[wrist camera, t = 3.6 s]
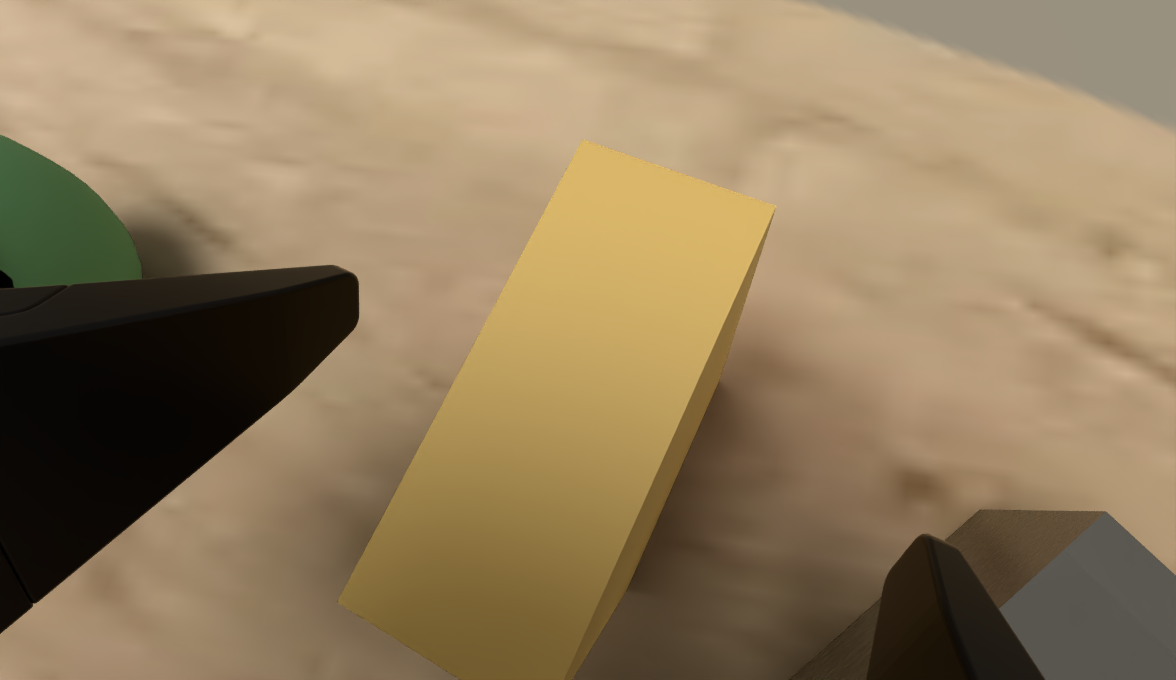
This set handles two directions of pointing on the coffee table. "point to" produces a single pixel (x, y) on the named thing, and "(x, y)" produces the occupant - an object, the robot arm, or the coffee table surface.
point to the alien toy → (56, 226)
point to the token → (564, 424)
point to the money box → (1053, 598)
